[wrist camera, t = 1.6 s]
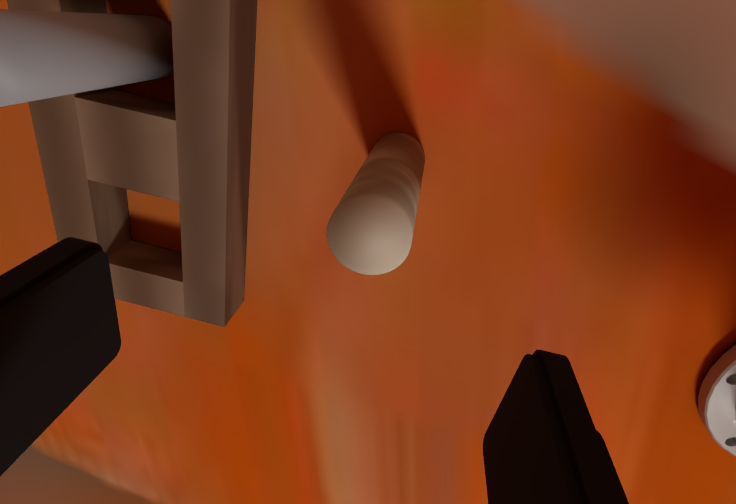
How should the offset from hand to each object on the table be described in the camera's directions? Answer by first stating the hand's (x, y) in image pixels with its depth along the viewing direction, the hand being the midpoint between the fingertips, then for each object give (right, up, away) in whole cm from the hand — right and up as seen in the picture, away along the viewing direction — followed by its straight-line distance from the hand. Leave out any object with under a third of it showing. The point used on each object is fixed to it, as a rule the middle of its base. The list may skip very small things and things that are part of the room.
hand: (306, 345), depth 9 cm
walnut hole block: (-11, +9, +16) cm, 21 cm away
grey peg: (-10, +13, +13) cm, 21 cm away
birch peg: (+3, +7, +14) cm, 16 cm away
